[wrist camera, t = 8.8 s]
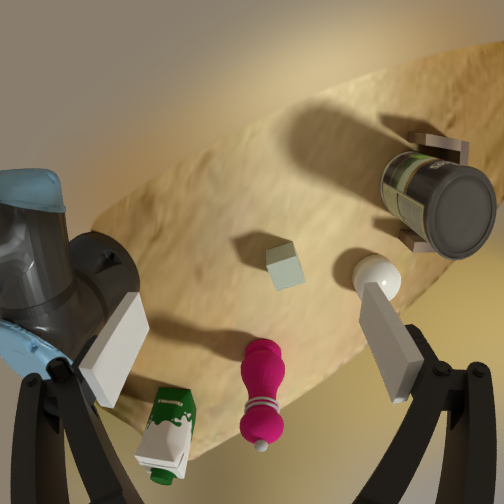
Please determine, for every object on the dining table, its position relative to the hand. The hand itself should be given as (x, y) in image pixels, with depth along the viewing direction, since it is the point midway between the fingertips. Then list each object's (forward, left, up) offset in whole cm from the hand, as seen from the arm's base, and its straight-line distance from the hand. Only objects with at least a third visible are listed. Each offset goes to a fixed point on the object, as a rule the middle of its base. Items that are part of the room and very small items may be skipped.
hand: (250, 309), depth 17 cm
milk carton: (-17, -41, -25) cm, 52 cm away
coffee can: (+22, +3, -25) cm, 34 cm away
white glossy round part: (+18, -11, -25) cm, 33 cm away
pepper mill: (+1, -26, -25) cm, 37 cm away
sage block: (+4, -8, -25) cm, 27 cm away
